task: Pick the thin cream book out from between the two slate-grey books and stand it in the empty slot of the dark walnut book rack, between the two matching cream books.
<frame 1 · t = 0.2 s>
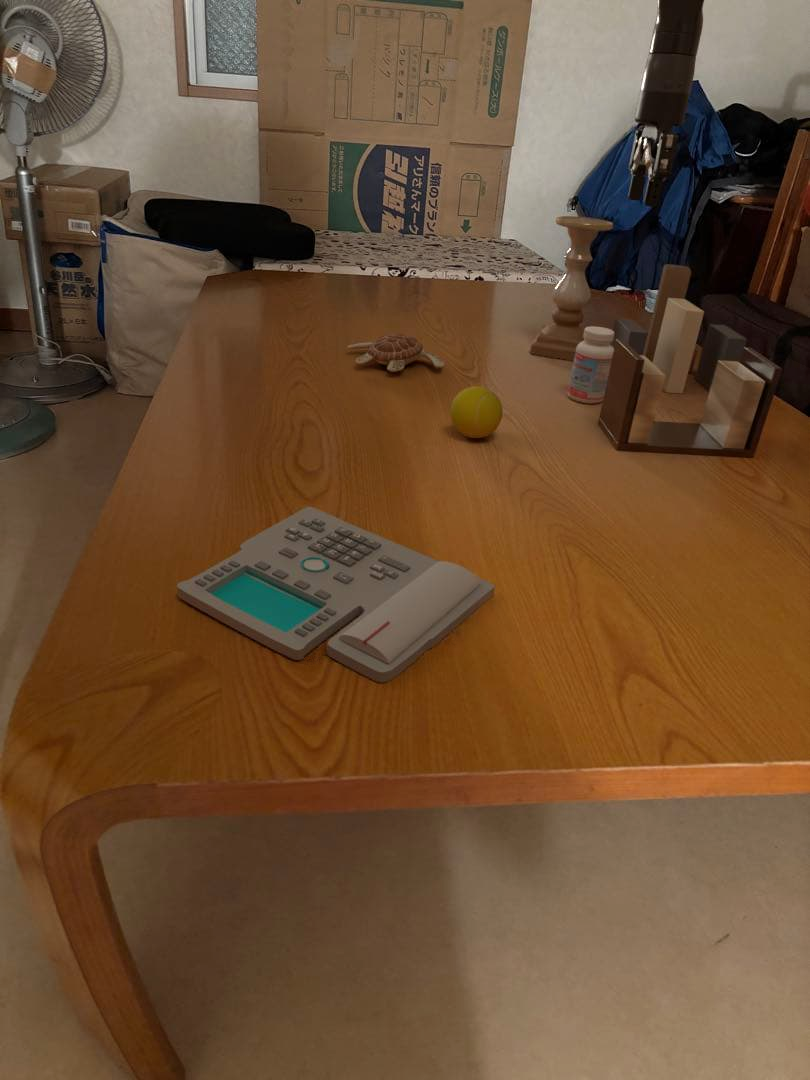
hand: (641, 203, 128), 28 cm above the table, tool pointing down, fingers open, 8 cm apart
pill bottle: (585, 399, 127), on the table
tennis ball: (473, 437, 109), on the table
candle holder: (561, 352, 151), on the table
decorative turtle: (394, 364, 136), on the table
grey books: (665, 384, 137), on the table
book rack: (673, 440, 113), on the table
office telephone: (335, 596, 72), on the table
cream book: (665, 384, 137), on the table
wooden block: (666, 367, 147), on the table
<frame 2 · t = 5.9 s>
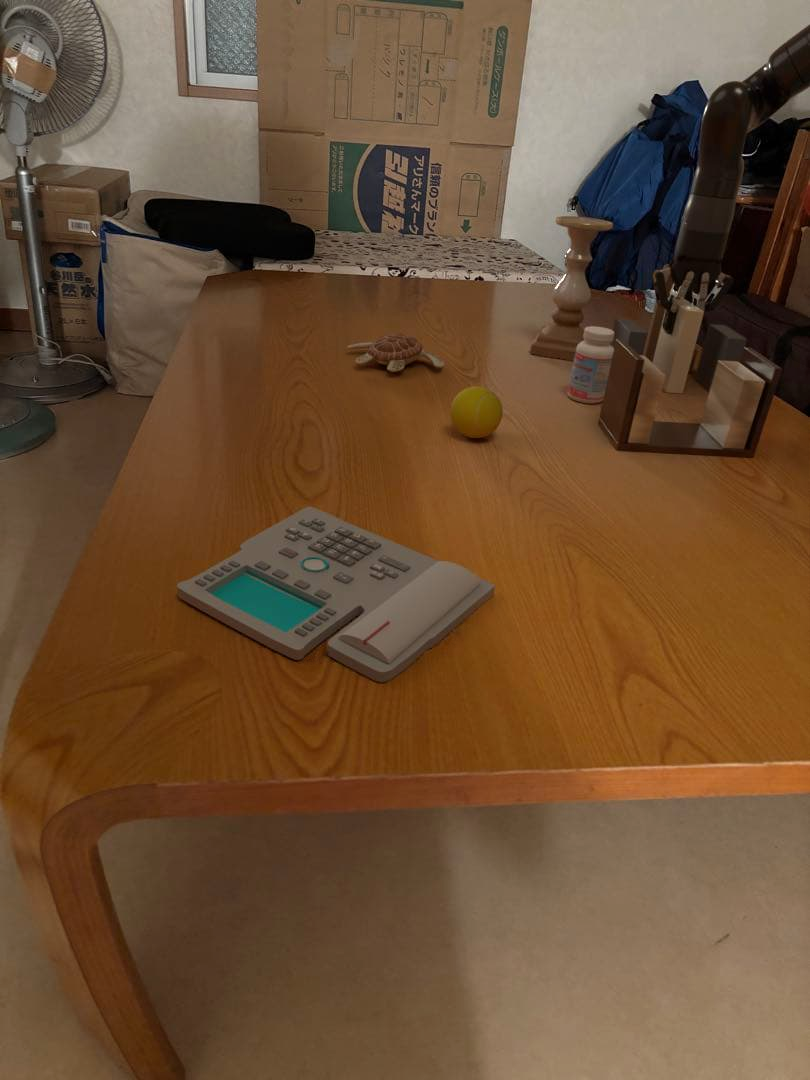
hand: (678, 333, 132), 9 cm above the table, tool pointing down, fingers closed on cream book, 3 cm apart
cream book: (665, 384, 137), on the table, touching gripper
everything else where it was.
when the fingers open (10 cm above the table, at t = 14.2 s): cream book stays where it is, resting on book rack.
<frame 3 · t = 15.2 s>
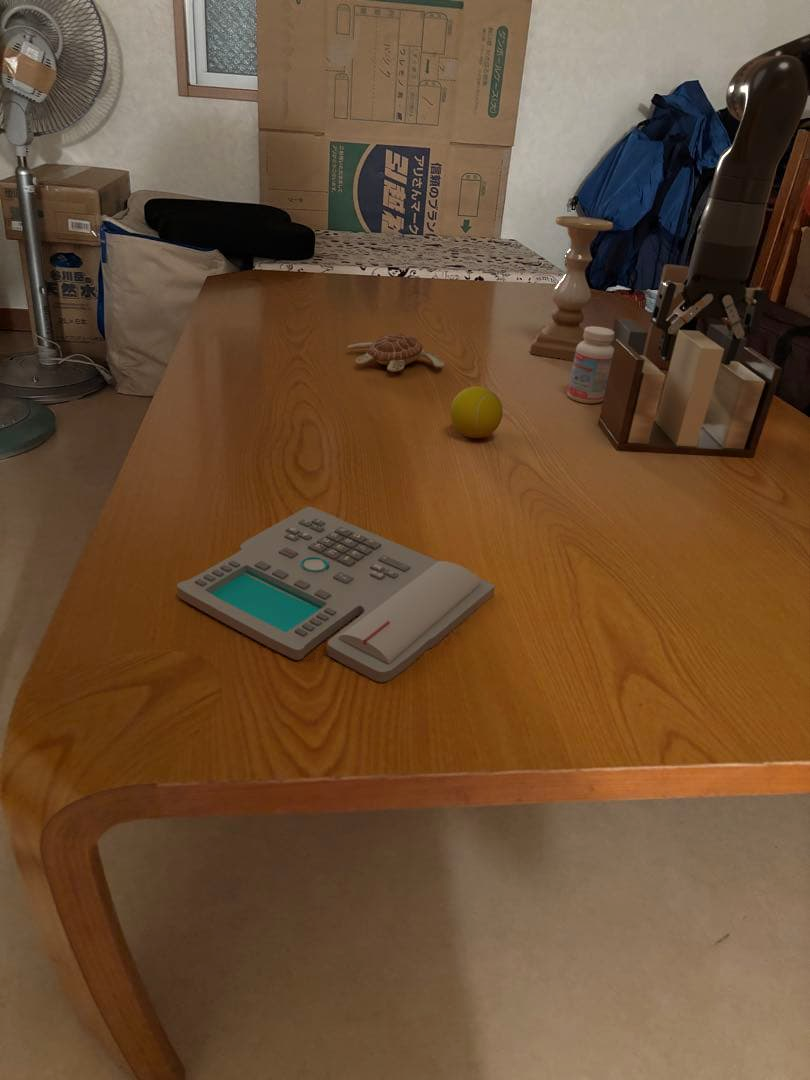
hand: (694, 361, 108), 12 cm above the table, tool pointing down, fingers open, 8 cm apart
cream book: (675, 434, 113), point 1 cm above the table, touching book rack
everything else where it was.
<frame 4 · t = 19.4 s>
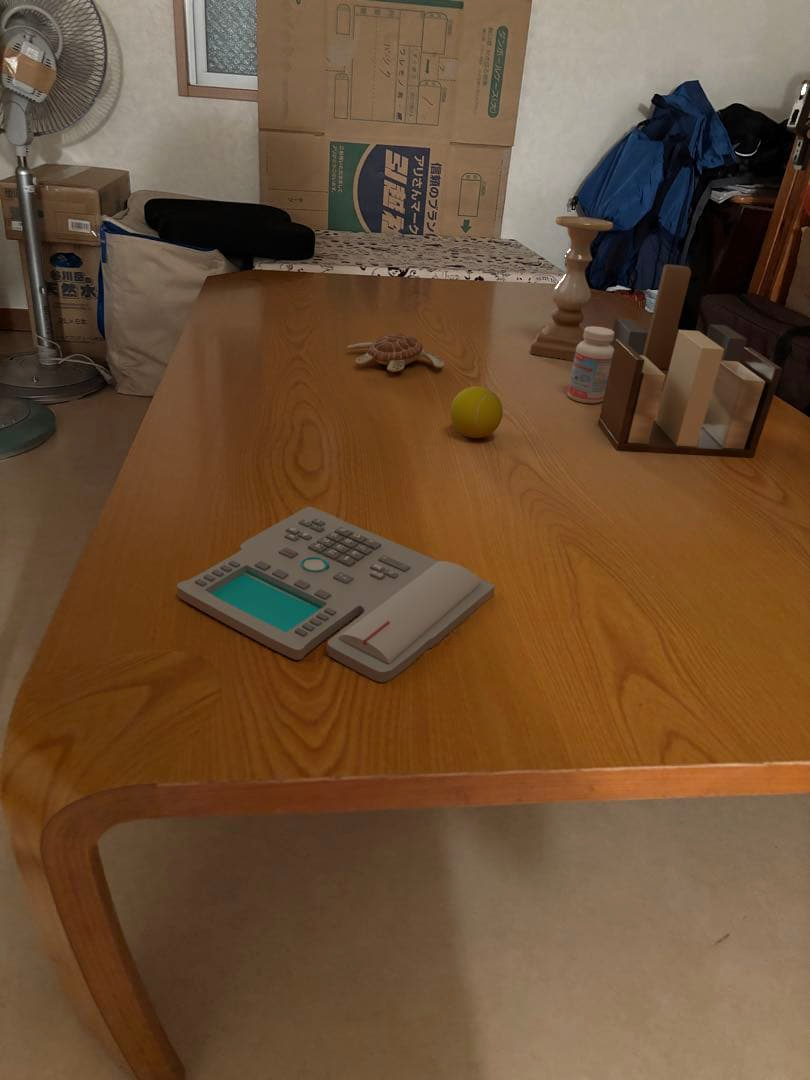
nothing on the table moved.
at the end: cream book inside the target area on the book rack (0.0 cm from its centre), point 1.0 cm above the book rack's base; cream book tilted 0°; the gripper is holding nothing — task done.
